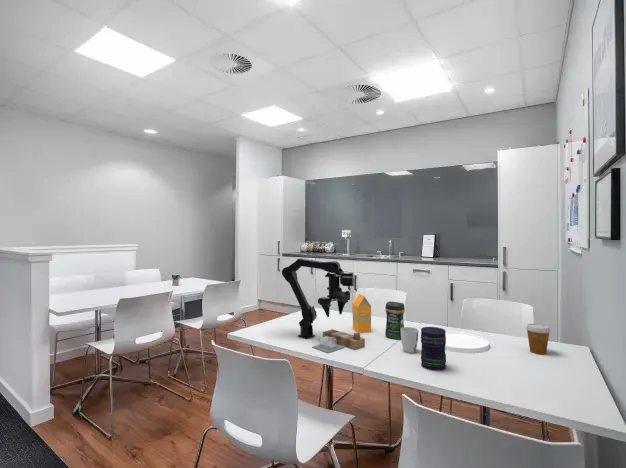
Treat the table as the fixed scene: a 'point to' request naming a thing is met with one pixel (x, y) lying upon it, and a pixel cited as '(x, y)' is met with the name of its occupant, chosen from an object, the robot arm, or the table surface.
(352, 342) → the hand plane
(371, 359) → the table surface
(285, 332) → the table surface
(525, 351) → the table surface
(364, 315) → the orange juice
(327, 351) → the rubber mat
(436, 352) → the storage jar
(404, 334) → the cup
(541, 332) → the disposable coffee cup
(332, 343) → the lever cap
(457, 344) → the plate
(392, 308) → the coffee jar
